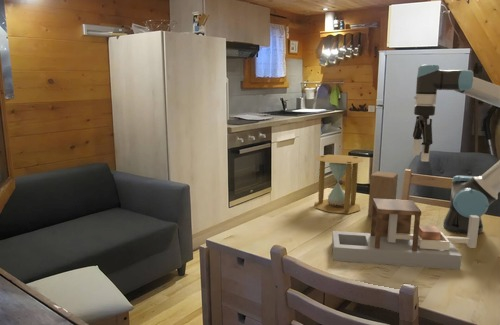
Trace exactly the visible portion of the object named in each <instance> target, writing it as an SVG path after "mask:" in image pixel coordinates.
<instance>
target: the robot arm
mask: <svg viewBox="0 0 500 325" xmlns="http://www.w3.org/2000/svg"><path fill="white" fill-rule="evenodd" d="M417 69H418V70H417V75H416V86H415V87H416V89H415V96H413V99H415V102H414V103H415V104H416V105H414V110H413V111H414V112H413V114H414V115H415V116H416V117H415V118H416V119H415V122H414V123H415V124H414V128H413V134H412V137H413V145H412V147H413V148H412V156H420V155H421V156H420V161H421V162H430V154H431V153H430V152H431V151H430V150H431V145H432V144H433V125H432V124H433V119H432V118H430V116H435V114H436V104H437V93H438V91H454V92H458V93H460V94H463V95H466V96H467V97H468V96H469V97H471V98H474V99H476V100H479V101H481V102H484V103H487V104H489V105H492V106H495V107H498V108H500V85H498V84H495V83H492V82H490V81H487V80H484V79H481V78H479V77H475V76H474V71H473V70H471V69H469V70H468V69H448V70H447V69H446V70H445V69H440V66H439V65H438V64H422V65H420V66H418V68H417ZM451 183H452V184H451V191H450V192H451V193H450V202H449V209H448V211H447V214H446V215H445V217H444V219H443V223H442V225H443V228H444V229H445V230H448V231H450V232H453V233H457V234H460V235H468V226H469V218H470V215H477V216H478V217H479V218H480V220H479V228H478V235H481V234H482V233H483V232H482V231H483V229H484V225H483V220H482V216H483V215H484V214H486V212H488V209H489V206H491V204H492V203H494V202H495V201H497V200H498V198H499V196H498V195H499V193H500V160H498V161H497V162H496V163H495V164H494V165H492V166H491V167H489V169H487V170H486V171H485V172H484V173H483V174H481V175H479V176H476V175H475V176H471V175H455V176H453V177H452V181H451Z"/></svg>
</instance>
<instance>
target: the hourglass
mask: <svg viewBox="0 0 500 325" xmlns="http://www.w3.org/2000/svg"><path fill="white" fill-rule="evenodd" d="M315 161H319V169H318V170H319V172H318V196H317V197H318V201H315V202H314V209H318V210H322V211H326V212H328V213H339V214H349V215H350V214H352V213H354V212H355V213H356V212H358V211H361V206H360V204H359V203H356V201H357V200H356V199H357V187H358V169H359V168H358V166H359V163H363V162H364V160H363V157H359V156H352V155H345V154H343V155H342V154H326V155H325V154H324V155H318V156H316V158H315ZM326 163H329V169H330V171H331V173H332V174H333V177H334V179H335V180H336V184H334V185H335V186H334V187H333V188H332V190H331V191H330V193H329V194H328V197H327V199H324V195H325V178H326V177H325V175H326V172H325V171H326ZM344 175H345V180H344V181H345V182H344V190H343V188H342V186H341V184H340V181H341V180H342V179H343V177H344Z"/></svg>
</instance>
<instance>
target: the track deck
mask: <svg viewBox="0 0 500 325" xmlns="http://www.w3.org/2000/svg"><path fill="white" fill-rule="evenodd" d="M370 234H371V232H370V233H369V232H354V231H341V230H340V231H337V230H333V231H332V239H331V240H332V241H331V244H332V245H331V248H332V257H333V261H334V262H335V261H338V262H348V263H364V264H373V265H375V264H379V265H390V266H404V267H418V268H431V269H444V270H445V269H446V270H448V269H449V270H456V271H457V270H461V266H462V260H463V259H462V258H463V255H462V254H461V253H460V252H459V251H458V249H457V248H456V247H455V245H454V244H453V242H450V246H449V250H437V249H422V248H419V246H417V251H412V243H413V240H406V239H396V242H395V243H393V242H388V240H387V238H388V237H384V236H380V248H379V249H377V248H375V236H371V235H370Z"/></svg>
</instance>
